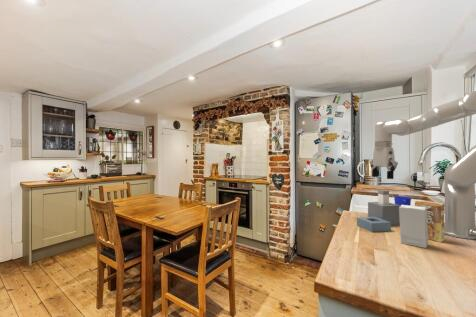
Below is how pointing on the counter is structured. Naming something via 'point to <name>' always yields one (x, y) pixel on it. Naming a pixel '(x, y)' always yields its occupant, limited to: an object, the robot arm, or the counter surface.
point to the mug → (402, 200)
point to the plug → (383, 197)
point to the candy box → (434, 219)
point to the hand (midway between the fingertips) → (382, 177)
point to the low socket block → (373, 224)
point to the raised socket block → (384, 212)
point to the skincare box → (413, 225)
